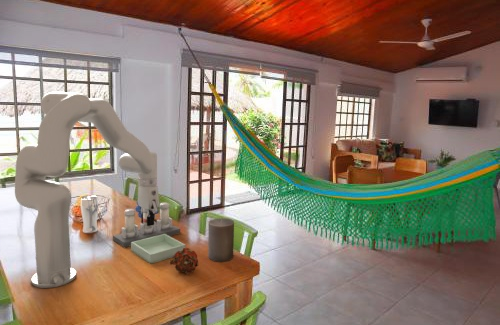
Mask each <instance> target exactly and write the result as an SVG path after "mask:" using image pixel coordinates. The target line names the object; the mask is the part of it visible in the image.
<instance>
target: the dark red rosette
mask: <svg viewBox="0 0 500 325" xmlns="http://www.w3.org/2000/svg"><path fill="white" fill-rule="evenodd" d="M171 259H172V260H171ZM171 259H170V260H169V264H170V265H172V266H175V267H174V268H175V270H176V271H177V272H178V273H179V272H182V273H184V274H190V273H193V272H194V271H195V269H196V268H197V267H199V260H198V254H197V252H195V250H191V249H190V248H189V247H187V248H183V250H182V251H177V252H176V253H175V254H174V257H172V258H171Z"/></svg>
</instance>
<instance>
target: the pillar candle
mask: <svg viewBox="0 0 500 325" xmlns="http://www.w3.org/2000/svg"><path fill="white" fill-rule="evenodd" d="M207 224H208V234H207V235H208V237H207V238H208V243H207V248H208V249H207V252H208V253H207V257H208V258H209V260H210V261H213V262H219V263H220V262H228V261H230V260H233V259H234V245H235V244H234V243H235V239H234V238H235V221H234V220H232V219H231V218H223V217H221V218H220V217H219V218H212V219H210V220H209V221H208V223H207Z"/></svg>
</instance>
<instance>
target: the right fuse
mask: <svg viewBox="0 0 500 325" xmlns="http://www.w3.org/2000/svg"><path fill="white" fill-rule="evenodd" d="M169 217H170V203H169V202H159V220H160V221H161V229H162V230H165V229H169Z"/></svg>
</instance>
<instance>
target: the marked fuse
mask: <svg viewBox="0 0 500 325" xmlns="http://www.w3.org/2000/svg"><path fill="white" fill-rule="evenodd" d="M151 209H152V207H151ZM151 211H152V210H151ZM151 211H150V212H151ZM147 217H148V213H147V209H145V208H143V223H142V224H144V233H145V234H149V233H152V232H153V227H152V225H151V226H147Z"/></svg>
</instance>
